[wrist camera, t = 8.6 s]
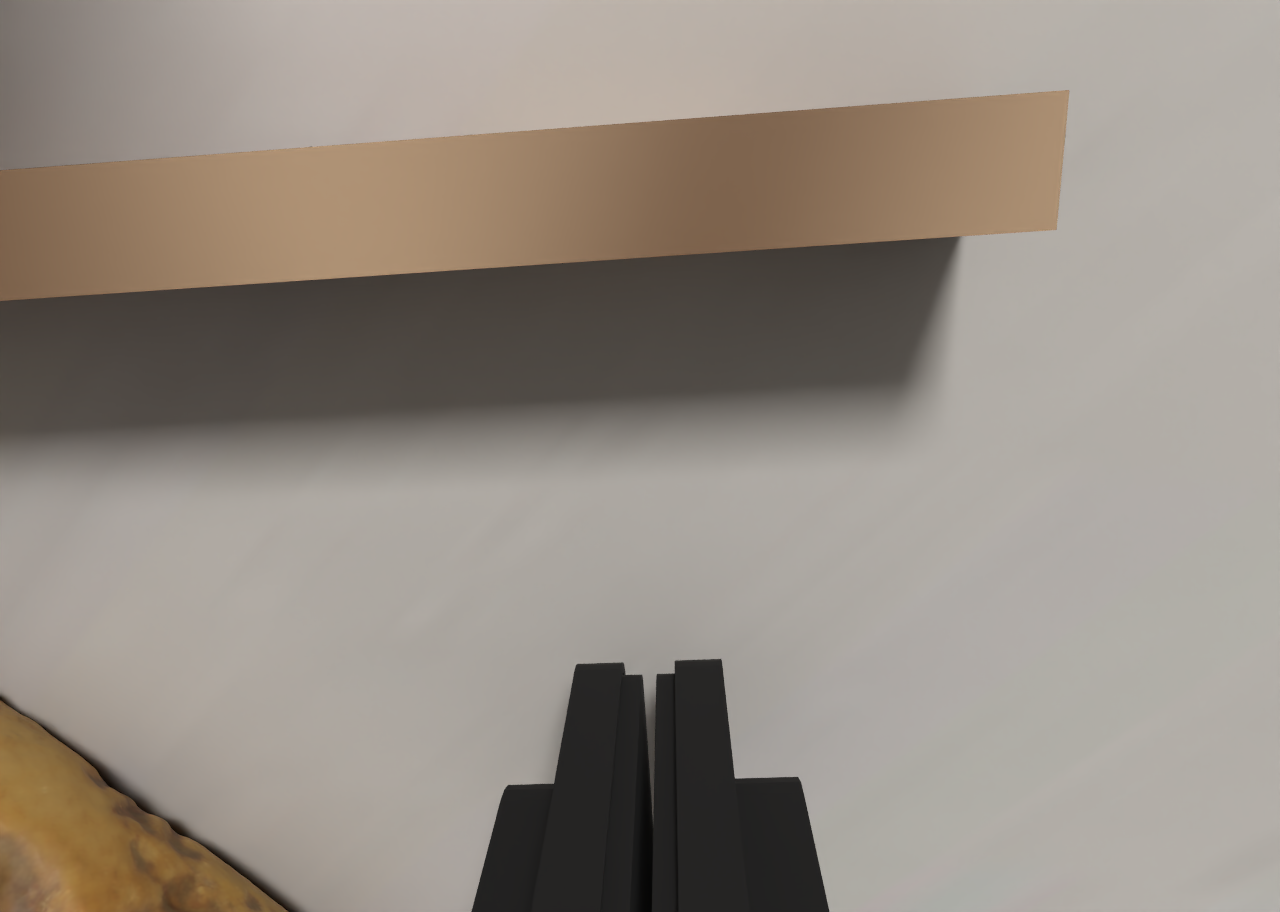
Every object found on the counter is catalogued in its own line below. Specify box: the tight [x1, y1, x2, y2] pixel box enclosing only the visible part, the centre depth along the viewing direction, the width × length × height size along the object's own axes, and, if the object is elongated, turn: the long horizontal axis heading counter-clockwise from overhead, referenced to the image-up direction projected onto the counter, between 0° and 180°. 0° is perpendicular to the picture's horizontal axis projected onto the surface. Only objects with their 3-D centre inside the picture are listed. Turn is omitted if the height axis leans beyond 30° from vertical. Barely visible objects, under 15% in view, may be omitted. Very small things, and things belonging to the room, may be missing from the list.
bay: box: [0, 90, 1069, 301], centre depth 8 cm, size 18×18×5 cm
